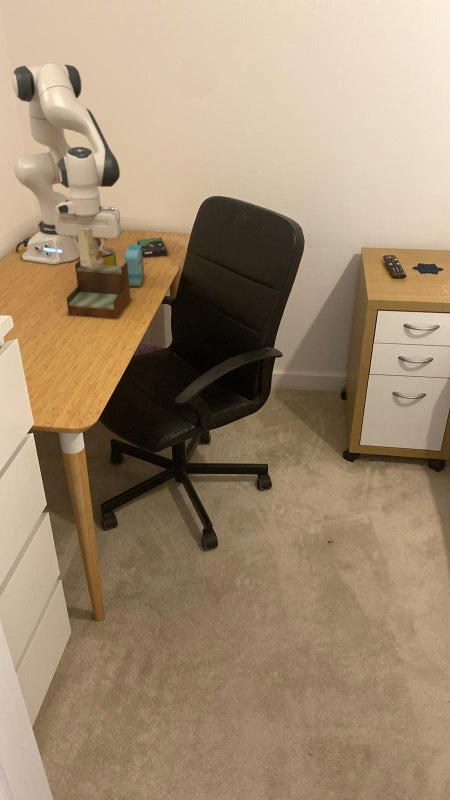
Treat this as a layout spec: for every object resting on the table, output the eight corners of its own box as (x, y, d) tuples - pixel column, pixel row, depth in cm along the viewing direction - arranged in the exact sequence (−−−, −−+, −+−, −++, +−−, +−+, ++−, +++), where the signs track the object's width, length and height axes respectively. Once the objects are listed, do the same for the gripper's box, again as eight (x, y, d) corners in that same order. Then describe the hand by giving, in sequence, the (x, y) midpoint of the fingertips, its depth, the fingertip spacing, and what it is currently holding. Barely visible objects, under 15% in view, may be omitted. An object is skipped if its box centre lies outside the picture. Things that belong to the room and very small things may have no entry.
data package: (139, 288, 229) (137, 255, 223) (126, 287, 229) (124, 255, 223) (144, 275, 239) (141, 243, 233) (131, 275, 239) (129, 243, 233)
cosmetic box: (90, 268, 201) (86, 229, 194) (80, 266, 203) (75, 227, 196) (104, 262, 206) (100, 224, 199) (94, 259, 207) (90, 222, 201)
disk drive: (167, 256, 257) (161, 243, 269) (167, 249, 256) (161, 237, 268) (141, 258, 255) (136, 245, 267) (141, 251, 253) (136, 238, 266)
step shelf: (68, 315, 210) (63, 275, 203) (84, 296, 222) (80, 259, 215) (116, 318, 207) (112, 279, 200) (130, 300, 220) (127, 262, 213)
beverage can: (108, 277, 238) (105, 245, 231) (123, 283, 232) (120, 251, 226) (87, 283, 232) (84, 251, 226) (102, 290, 227) (99, 257, 220)
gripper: (122, 204, 196) (126, 249, 203) (58, 201, 199) (64, 245, 206) (115, 210, 190) (119, 255, 198) (50, 207, 193) (56, 251, 201)
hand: (90, 250), depth 202 cm, fingers closed on cosmetic box, 5 cm apart
